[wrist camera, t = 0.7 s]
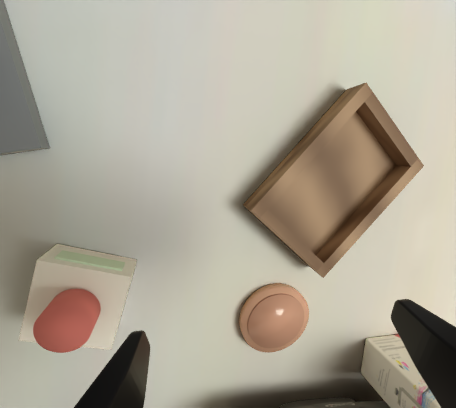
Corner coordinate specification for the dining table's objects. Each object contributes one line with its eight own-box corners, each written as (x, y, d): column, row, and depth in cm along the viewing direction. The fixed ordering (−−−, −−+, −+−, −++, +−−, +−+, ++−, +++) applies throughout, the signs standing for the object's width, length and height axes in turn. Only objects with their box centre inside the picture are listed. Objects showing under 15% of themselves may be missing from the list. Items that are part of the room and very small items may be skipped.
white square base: (119, 323, 21) (111, 349, 18) (40, 313, 20) (18, 340, 17) (137, 258, 20) (132, 275, 18) (57, 241, 19) (37, 257, 16)
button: (94, 333, 18) (85, 354, 16) (44, 327, 17) (28, 349, 15) (105, 292, 17) (97, 310, 15) (54, 284, 16) (39, 302, 14)
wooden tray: (309, 266, 24) (323, 277, 22) (242, 205, 22) (250, 210, 19) (401, 164, 24) (423, 166, 22) (346, 89, 22) (366, 82, 19)
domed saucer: (291, 349, 26) (295, 357, 25) (229, 342, 24) (232, 349, 23) (314, 290, 25) (319, 295, 24) (252, 277, 23) (256, 282, 22)
